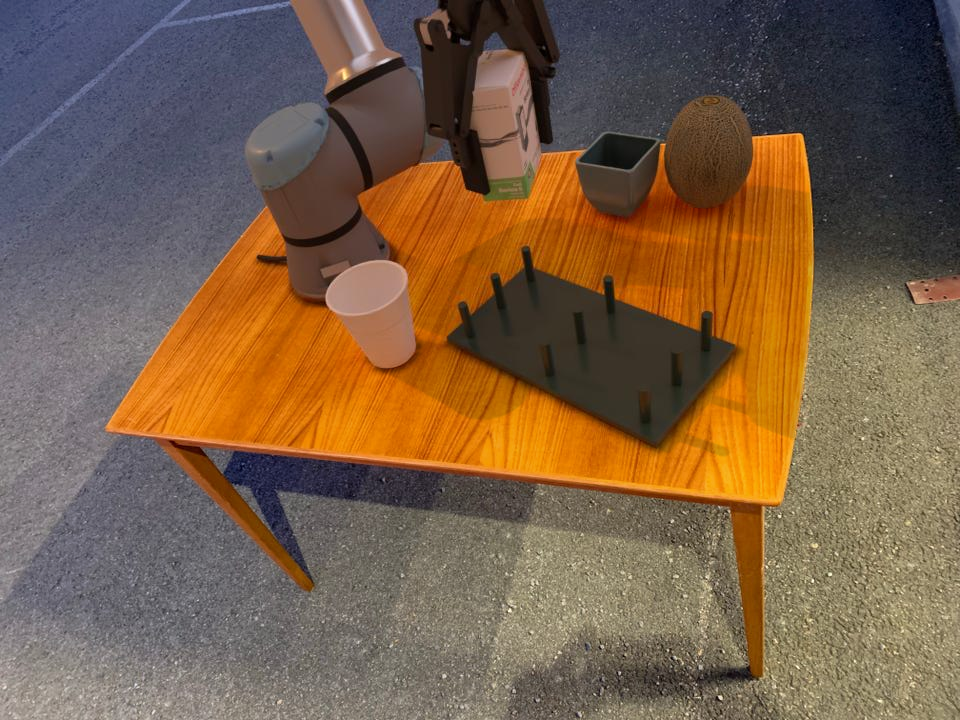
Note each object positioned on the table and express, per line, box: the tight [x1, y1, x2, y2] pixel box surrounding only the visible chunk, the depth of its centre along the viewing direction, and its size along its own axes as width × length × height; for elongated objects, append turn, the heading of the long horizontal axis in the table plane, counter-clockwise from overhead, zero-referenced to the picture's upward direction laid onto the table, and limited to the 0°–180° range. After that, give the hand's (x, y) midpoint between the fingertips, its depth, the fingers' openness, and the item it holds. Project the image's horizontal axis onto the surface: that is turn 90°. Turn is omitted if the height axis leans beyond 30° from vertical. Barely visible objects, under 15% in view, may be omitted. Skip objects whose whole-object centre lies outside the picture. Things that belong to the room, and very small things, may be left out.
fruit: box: [663, 94, 754, 209], centre depth 92 cm, size 11×11×15 cm
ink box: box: [470, 48, 543, 202], centre depth 68 cm, size 9×5×12 cm, turn 167°
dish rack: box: [445, 245, 737, 449], centre depth 80 cm, size 30×16×6 cm, turn 48°
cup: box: [325, 260, 417, 369], centre depth 84 cm, size 10×10×11 cm
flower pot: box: [574, 131, 662, 218], centre depth 97 cm, size 9×9×9 cm
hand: (510, 164), depth 71 cm, fingers closed on ink box, 9 cm apart
